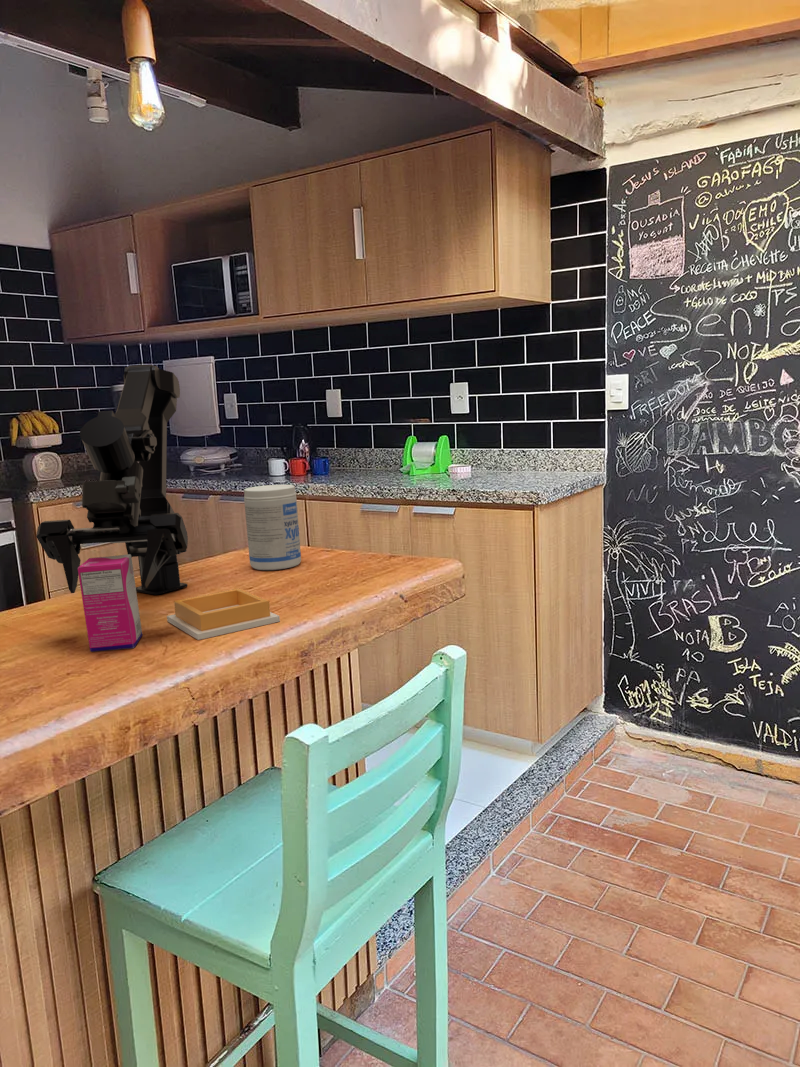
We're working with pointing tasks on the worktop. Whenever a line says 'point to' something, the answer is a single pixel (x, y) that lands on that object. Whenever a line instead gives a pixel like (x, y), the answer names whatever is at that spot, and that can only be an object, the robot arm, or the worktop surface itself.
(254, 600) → the collar socket
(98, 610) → the supplement box
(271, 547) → the supplement tub
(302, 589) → the worktop surface
